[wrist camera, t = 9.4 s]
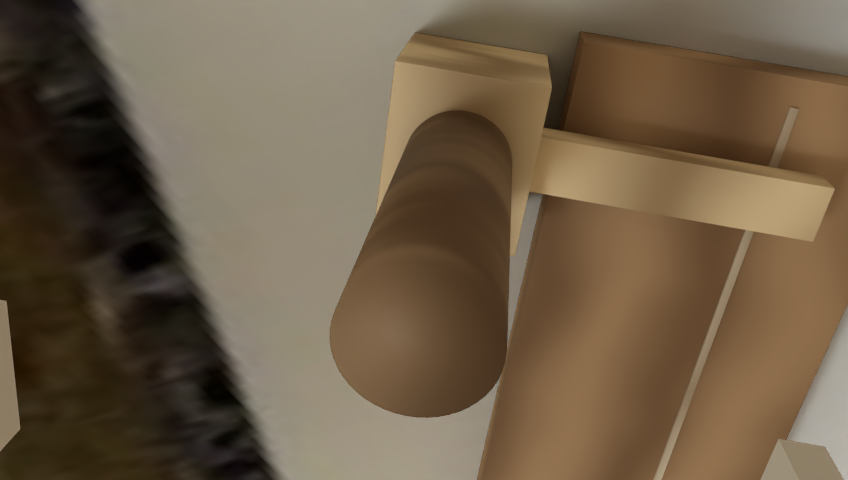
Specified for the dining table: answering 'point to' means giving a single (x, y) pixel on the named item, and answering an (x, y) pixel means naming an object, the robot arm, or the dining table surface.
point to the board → (674, 282)
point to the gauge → (503, 217)
